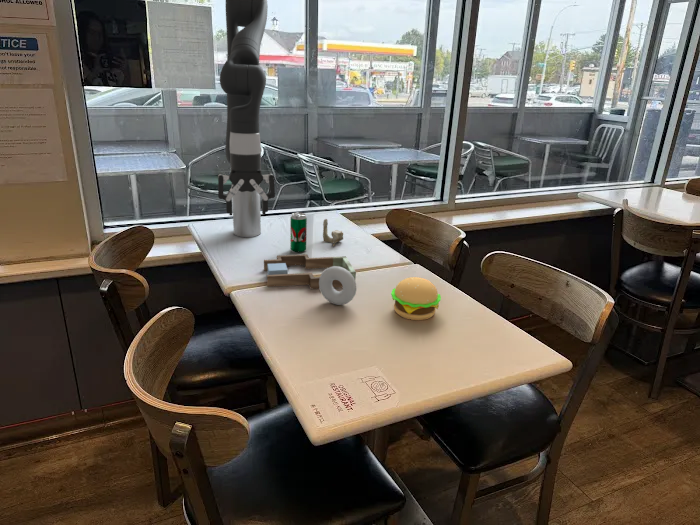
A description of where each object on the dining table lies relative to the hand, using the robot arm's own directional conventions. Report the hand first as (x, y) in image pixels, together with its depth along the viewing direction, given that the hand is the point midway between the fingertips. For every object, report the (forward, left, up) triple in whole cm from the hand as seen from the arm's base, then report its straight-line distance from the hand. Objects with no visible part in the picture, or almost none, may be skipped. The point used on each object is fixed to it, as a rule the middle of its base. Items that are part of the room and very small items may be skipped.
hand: (247, 214), depth 129 cm
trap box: (0, +17, -18) cm, 25 cm away
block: (0, +8, -19) cm, 20 cm away
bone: (-27, +30, -19) cm, 44 cm away
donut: (+18, +21, -19) cm, 33 cm away
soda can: (-21, +17, -19) cm, 32 cm away
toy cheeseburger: (+25, +39, -19) cm, 50 cm away
